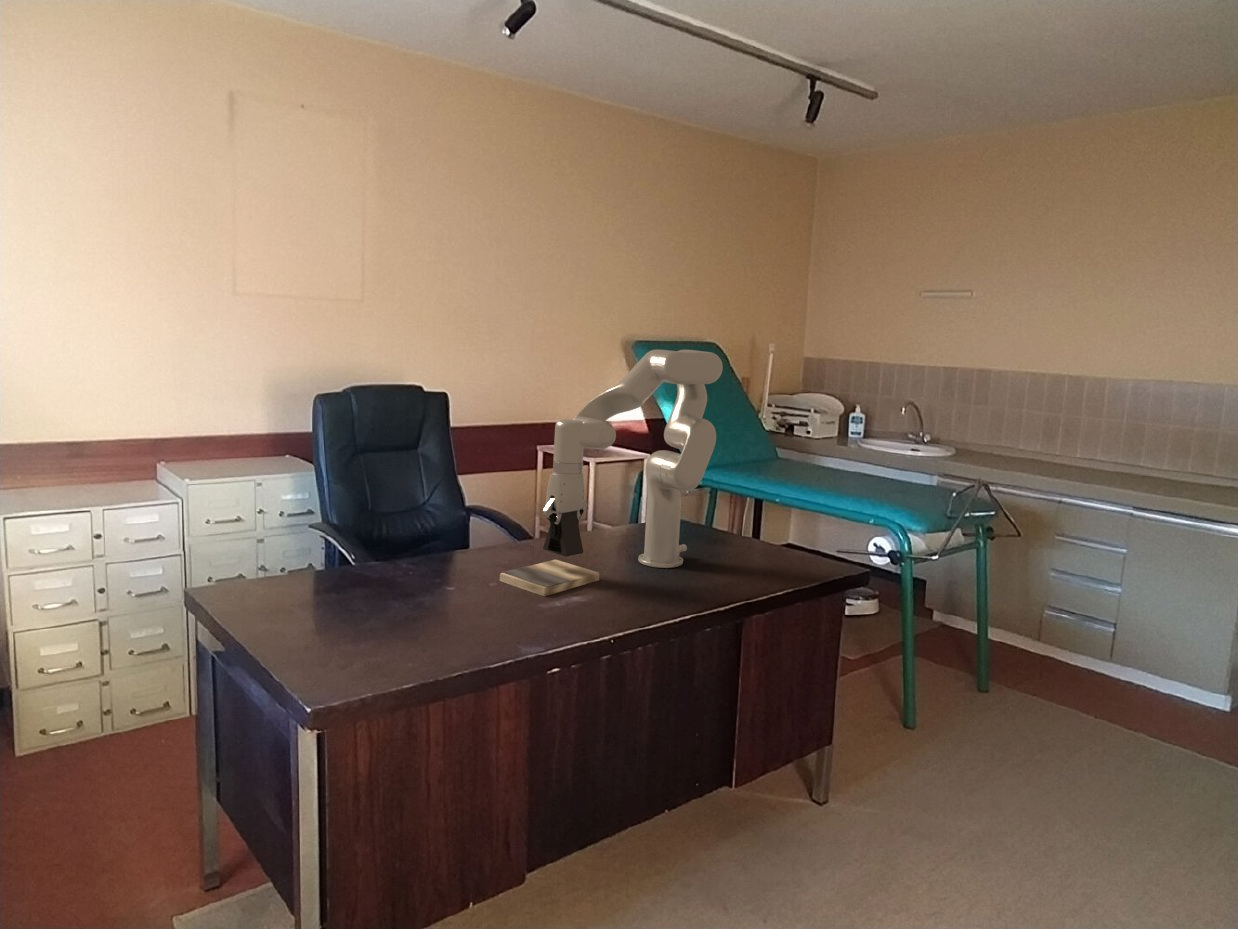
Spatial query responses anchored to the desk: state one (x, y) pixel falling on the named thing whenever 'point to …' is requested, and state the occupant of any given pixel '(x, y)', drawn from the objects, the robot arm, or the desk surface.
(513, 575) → the subfloor panel
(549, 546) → the dark a-frame stand
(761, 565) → the desk surface
